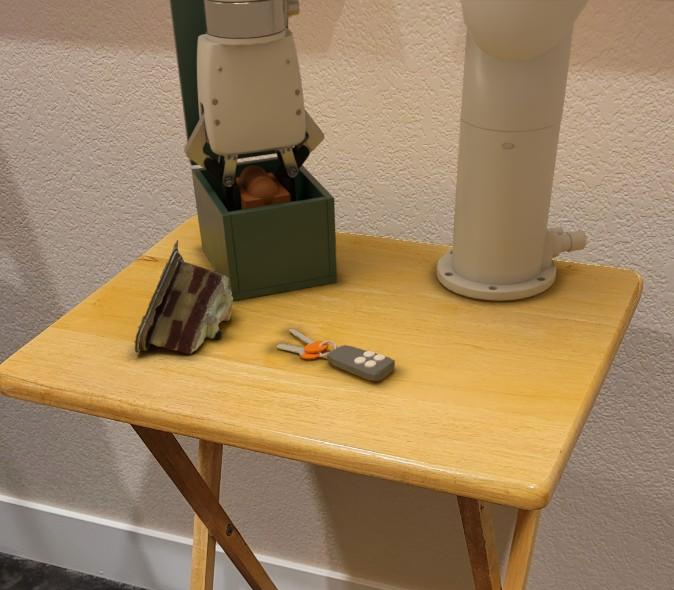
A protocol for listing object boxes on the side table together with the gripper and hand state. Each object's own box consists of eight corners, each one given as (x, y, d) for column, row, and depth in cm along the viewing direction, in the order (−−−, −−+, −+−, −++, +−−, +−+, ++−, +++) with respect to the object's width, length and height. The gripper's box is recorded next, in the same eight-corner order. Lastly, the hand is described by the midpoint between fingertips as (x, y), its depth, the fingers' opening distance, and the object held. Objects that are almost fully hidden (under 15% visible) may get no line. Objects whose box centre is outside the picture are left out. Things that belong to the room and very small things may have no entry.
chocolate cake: (201, 372, 82) (242, 249, 82) (129, 347, 82) (170, 224, 82) (213, 392, 92) (249, 282, 92) (148, 370, 92) (185, 259, 91)
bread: (273, 206, 98) (270, 158, 95) (292, 229, 93) (289, 180, 90) (232, 212, 97) (227, 164, 94) (248, 236, 92) (244, 186, 89)
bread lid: (287, -14, 86) (270, -30, 90) (170, -2, 84) (158, -19, 88) (293, 151, 98) (278, 131, 102) (191, 166, 96) (179, 144, 99)
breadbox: (337, 282, 95) (334, 197, 89) (232, 301, 92) (222, 215, 86) (297, 233, 105) (292, 154, 99) (202, 249, 102) (191, 168, 96)
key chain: (399, 369, 81) (399, 354, 80) (375, 386, 79) (375, 371, 78) (291, 331, 87) (290, 317, 86) (266, 346, 85) (265, 332, 84)
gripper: (318, 2, 87) (324, 194, 99) (147, 18, 83) (176, 216, 96) (343, 17, 81) (347, 218, 94) (162, 35, 78) (191, 242, 90)
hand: (261, 215), depth 95 cm, fingers closed on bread, 4 cm apart
